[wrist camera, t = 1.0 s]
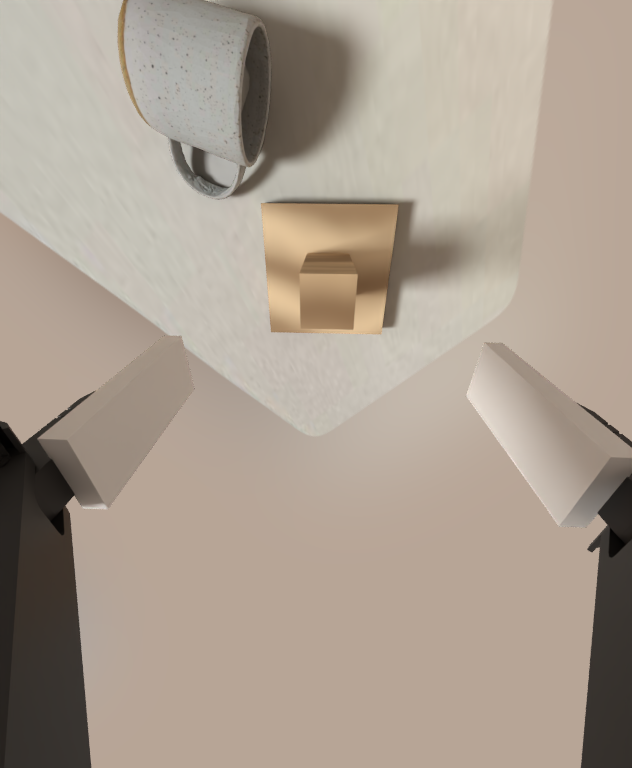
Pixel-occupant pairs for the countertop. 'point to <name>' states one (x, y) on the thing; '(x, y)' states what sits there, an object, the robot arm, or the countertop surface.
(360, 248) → the wooden plaque with block
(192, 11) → the ceramic mug
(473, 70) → the countertop surface
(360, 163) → the countertop surface
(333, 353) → the countertop surface
